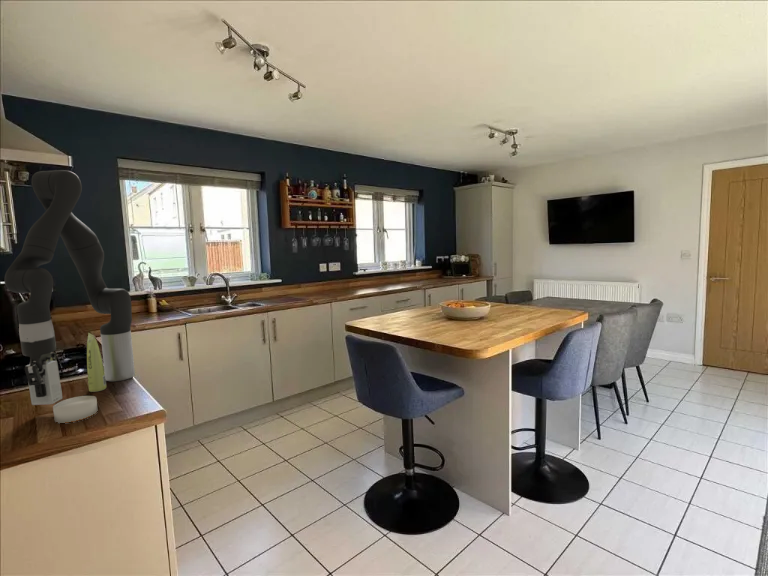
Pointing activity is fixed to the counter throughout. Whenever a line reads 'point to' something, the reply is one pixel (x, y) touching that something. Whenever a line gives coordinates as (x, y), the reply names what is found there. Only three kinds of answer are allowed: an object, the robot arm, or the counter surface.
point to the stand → (75, 409)
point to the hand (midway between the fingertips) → (45, 392)
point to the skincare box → (48, 386)
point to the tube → (95, 366)
